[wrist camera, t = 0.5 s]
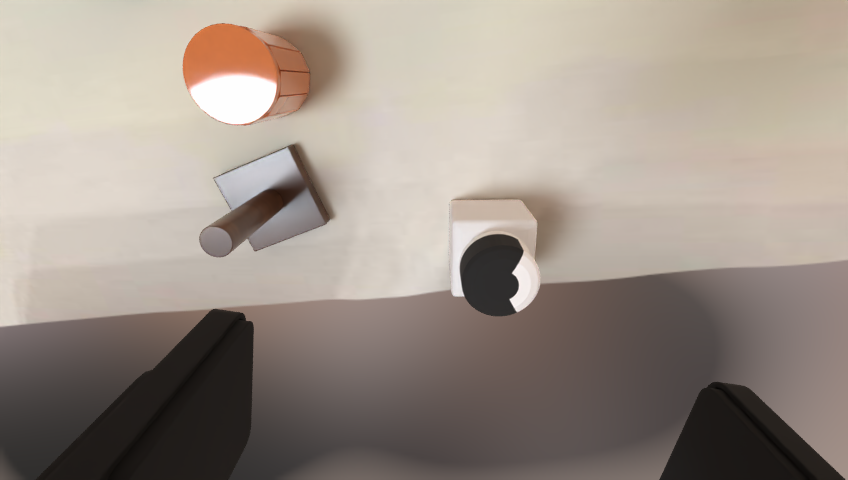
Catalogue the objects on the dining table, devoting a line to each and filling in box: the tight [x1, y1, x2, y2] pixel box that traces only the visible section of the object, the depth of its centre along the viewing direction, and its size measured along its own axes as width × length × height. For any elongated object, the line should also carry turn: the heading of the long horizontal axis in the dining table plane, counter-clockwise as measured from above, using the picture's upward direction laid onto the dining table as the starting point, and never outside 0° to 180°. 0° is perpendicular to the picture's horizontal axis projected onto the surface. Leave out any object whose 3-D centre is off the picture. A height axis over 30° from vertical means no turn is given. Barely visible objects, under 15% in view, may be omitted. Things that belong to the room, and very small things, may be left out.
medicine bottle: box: [449, 199, 540, 316], centre depth 38 cm, size 7×7×12 cm
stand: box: [199, 145, 330, 257], centre depth 37 cm, size 8×8×13 cm
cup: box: [183, 23, 310, 125], centre depth 35 cm, size 7×7×8 cm
